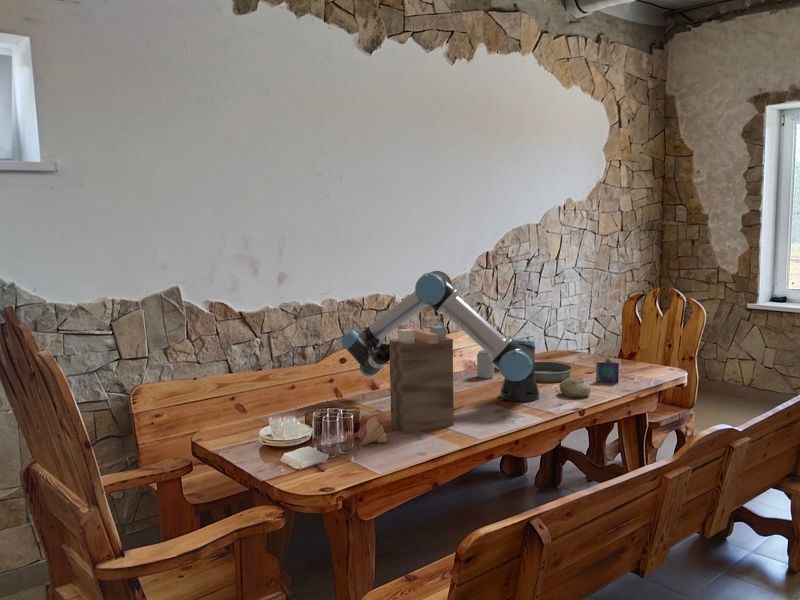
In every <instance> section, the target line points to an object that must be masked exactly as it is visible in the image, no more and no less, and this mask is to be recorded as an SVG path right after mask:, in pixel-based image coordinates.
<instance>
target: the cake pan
mask: <svg viewBox="0 0 800 600" xmlns="http://www.w3.org/2000/svg"><path fill="white" fill-rule="evenodd" d="M573 369H574V367H573V366H572V365H570V364H568V363H564V362H557V361H548V360H547V361H545V360H543V361H542V360H541V361H540V360H539V361H535V381H536V382H546V383H547V382H549V383H550V382H553V383H554V382H562V381H564V380H565V379H566V378H570V375H571V372H572V371H573Z"/></svg>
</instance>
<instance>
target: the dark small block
mask: <svg viewBox="0 0 800 600" xmlns="http://www.w3.org/2000/svg"><path fill="white" fill-rule="evenodd" d="M595 364H596V365H595V367H596V369H595V382H596V383H605V384H606V383H607V384H619V379H620V378H619V368H620V367H619V365H620V364H619V362H618V361H615V360H611V359H610V357H609V356H608V357H605V360H603V361H602V360H597V361H596V363H595Z"/></svg>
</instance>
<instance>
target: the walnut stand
mask: <svg viewBox="0 0 800 600" xmlns="http://www.w3.org/2000/svg"><path fill="white" fill-rule="evenodd" d="M453 343H454V339H453V338H451V337H450V338H449V337H448V336H446V339H439V340H438V343H435V344H428V343H425V342H422V341H419V340H416V339H415V342H410V343H402V342H399V341H398V338H396V339H389V343H388V344H389V345H390V361H389V383H390V385H389V386H390V389H389V390H390V391H389V393H390V426H391V427H392V428H394V429H396V430H397V431H399V432H400V433H402V434H404V435H406V434H411V433H417V432H423V431H428V430H434V429H440V428H441V429H442V428H445V427H452V426H454V421H455V420H454V344H453Z"/></svg>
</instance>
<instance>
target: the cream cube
mask: <svg viewBox="0 0 800 600" xmlns="http://www.w3.org/2000/svg"><path fill="white" fill-rule="evenodd" d="M397 335H398V338H397V339H398V341H399V342H402V343H410V342H415V338H414V330H412V329H399V330H398V329H397Z"/></svg>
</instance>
